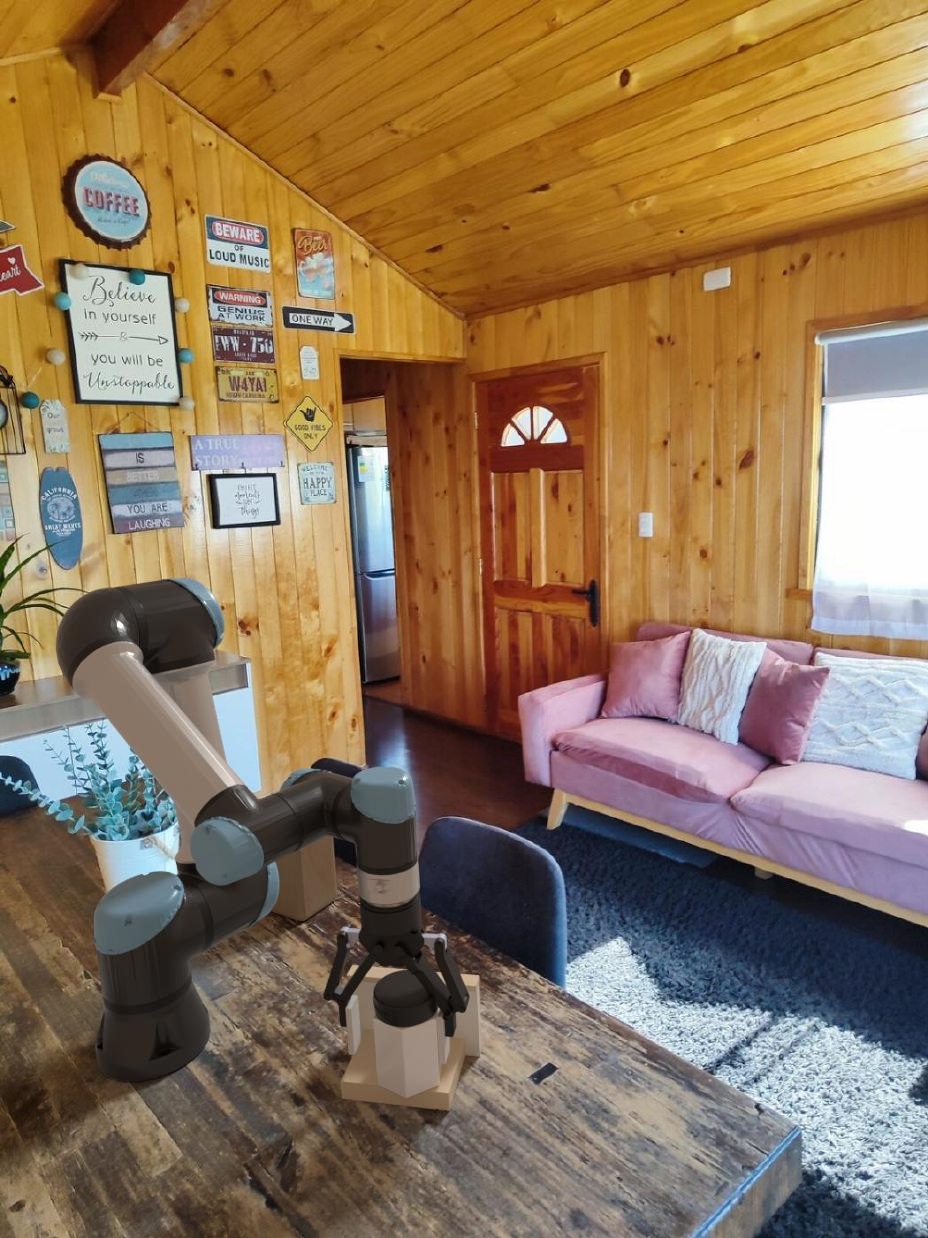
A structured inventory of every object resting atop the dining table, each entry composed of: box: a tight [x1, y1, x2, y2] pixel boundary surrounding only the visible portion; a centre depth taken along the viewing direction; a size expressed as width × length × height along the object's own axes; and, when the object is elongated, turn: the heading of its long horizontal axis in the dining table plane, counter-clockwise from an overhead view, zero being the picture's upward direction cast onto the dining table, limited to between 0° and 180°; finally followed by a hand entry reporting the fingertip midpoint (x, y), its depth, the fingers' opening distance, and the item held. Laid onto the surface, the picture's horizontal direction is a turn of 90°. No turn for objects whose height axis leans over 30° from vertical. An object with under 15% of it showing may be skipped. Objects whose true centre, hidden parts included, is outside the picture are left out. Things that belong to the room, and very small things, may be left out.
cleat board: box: [340, 964, 483, 1112], centre depth 108 cm, size 18×12×11 cm, turn 79°
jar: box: [373, 969, 442, 1098], centre depth 104 cm, size 9×8×12 cm
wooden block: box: [270, 836, 338, 922], centre depth 151 cm, size 10×10×20 cm
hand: (399, 1052), depth 105 cm, fingers open, 11 cm apart
